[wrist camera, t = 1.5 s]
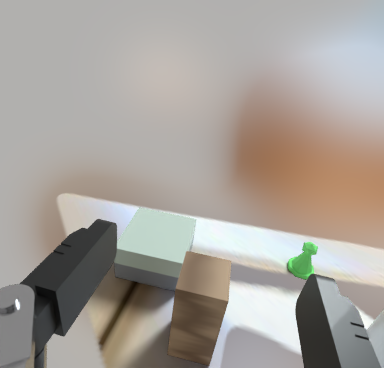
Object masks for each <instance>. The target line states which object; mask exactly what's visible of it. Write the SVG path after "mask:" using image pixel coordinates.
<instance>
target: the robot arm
mask: <svg viewBox="0 0 384 368" xmlns="http://www.w3.org/2000/svg"><path fill="white" fill-rule="evenodd" d="M116 253H117V225H116V223H113V222H109V221H105V220H101V219H97V220H96V221H95V222H94V223H93V224H92V225H91V226H90V227H89V228H88V229H86V228H81V229H79V230H77V231H75V232H73V233H72V234H70V235H69V236H68V237H67V238H66V239H65V240H64V241H63V242H62V243H61V245H59V246H58V247H57V248H56V249H55V250H54V252H53V253H51V254H50V255H49V256H48V257H47V258H46V259H45V260H44V261H43V262H42V263H41V264H40V265H39V266H37V268H35V269H34V271H32V273H30V274H29V275H28V276H27V277H26V278H25V279H24V280H23V281H22V282H21V283H20V284H15V285H9V286H6V287H3V288H1V289H0V368H46V358H47V357H46V356H47V344H46V343H47V342H48V341H49V339H50V338H51V336H52V335H53V334H54V333H55V334H57V335H60V336H65V335H66V333H67V332H68V330H69V329H70V327H71V325H72V324H73V323H74V321H75V320H76V318H77V317H78V315H79V313H80V312H81V310H82V309H83V308H84V306H85V305H86V303H87V302H88V300H89V299H90V297H91V296H92V294H93V293H94V291H95V290H96V288H97V287H98V285H99V284H100V282H101V281H102V279H103V278H104V276H105V275H106V273H107V272H108V270H109V269H110V267H111V266H112V264H113V262H114V260H115V257H116ZM296 320H297V327H298V333H299V339H300V345H301V351H302V357H303V363H304V368H384V309H383V311H382V312H381V313H380V315H379V316H378V317H377V318H376V319H375V321H374V322H373V323H372V324H371V325H370V327H369V328H368V329H367V330H366V329H365V328H364V324H363V322H362V319H361V317H360V314H359V312H358V310H357V309H356V308H355V306H354V305H353V304H352V302H351V301H350V300H349V299H348V298H347V297H346V296H342V295H340V292H339V290H338V287H337V284H336V282H335V280H334V279H332V278H329V277H325V276H321V275H317V274H311V275H310V276H309V277H308V279H307V281H306V283H305V285H304V287H303V289H302V291H301V293H300V295H299V297H298V299H297V303H296Z"/></svg>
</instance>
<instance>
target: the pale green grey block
mask: <svg viewBox="0 0 384 368" xmlns="http://www.w3.org/2000/svg"><path fill="white" fill-rule="evenodd" d="M195 224H196V219H193V218H188V217H184V216H179V215H174V214H169V213H164V212H160V211H155V210H150V209H145V208H140V207H139V209H138V210H137V212H136V213H135V215H134V217H133V218H132V220H131V221H130V223H129V224H128V226H127V227H126V229H125V231H124V232H123V234H122V235H121V237H120V238H119V240H118V241H117V253H116V257H115V260H114V266H115V277H118V278H122V279H126V280H130V281H135V282H139V283H143V284H147V285H151V286H155V287H159V288H164V289H168V290H172V291H175V289H176V285H177V282H178V278H179V275H180V271H181V268H182V264H183V261H184V257H185V254H186V251H189V252H191V248H192V244H193V238H194V231H195Z"/></svg>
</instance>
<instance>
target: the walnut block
mask: <svg viewBox="0 0 384 368" xmlns="http://www.w3.org/2000/svg"><path fill="white" fill-rule="evenodd" d="M230 271H231V261H229V260H225V259H220V258H216V257H211V256H207V255H202V254H198V253H194V252H189V251H186V254H185V257H184V261H183V264H182V268H181V271H180V275H179V278H178V282H177V285H176V289H175V297H174V305H173V313H172V321H171V329H170V337H169V346H168V354H167V355H170V356H174V357H178V358H182V359H185V360H189V361H193V362H196V363H200V364H204V365H208V366H209V365H210V361H211V358H212V355H213V351H214V348H215V345H216V341H217V338H218V334H219V331H220V328H221V324H222V321H223V317H224V314H225V311H226V307H227V304H228V299H229V285H230Z"/></svg>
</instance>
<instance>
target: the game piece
mask: <svg viewBox="0 0 384 368" xmlns="http://www.w3.org/2000/svg"><path fill="white" fill-rule="evenodd" d="M317 249H318V247H317V246H316V245H314V244H313V243H312V242H307V243H304V245H303V249H302V250H303V251H304V252H303V253H302V254H300V255H299V256H298V257H294V258H291V259H289V261H288V269H289V270H290V271H291V272H292V273H293V275H294V276H295V277H299V278H302V279H305V280H306V279H308V277H309V276H310V275H311V274H314V269H313V266H312V265H311V255H316V252H317Z"/></svg>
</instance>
